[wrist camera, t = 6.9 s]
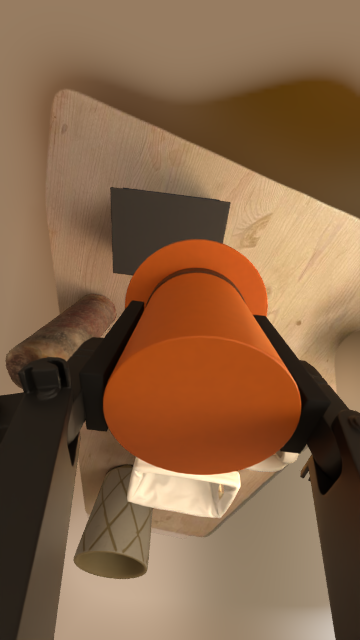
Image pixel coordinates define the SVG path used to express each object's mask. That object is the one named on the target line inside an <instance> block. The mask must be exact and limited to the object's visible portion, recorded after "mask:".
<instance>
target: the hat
mask: <svg viewBox="0 0 360 640" xmlns="http://www.w3.org/2000/svg"><path fill="white" fill-rule="evenodd" d="M132 300H134V301H142V302H144V312H143V314H142V316H141V318H140V320H139V322H138V324H137V326H136V328H135V329H134V331H133V333H132V335H131V337H130V339H129V341H128V343H127V345H126V347H125V349H124V351H123V353H122V355H121V357H120V359H119V361H118V363H117V364H116V366H115V368H114V370H113V372H112V374H111V376H110V378H109V380H108V383H107V385H106V388H105V391H104V396H103V412H104V417H105V420H106V423H107V426H108V428H109V429H110V431H111V433H112V434H113V436H114V437H115V438H116V440H117V441H118V442H119V443H120V444H121V445H122V446H123V447H124V448H125V449H126V450H128V451H129V452H130V453H131V454H133V455H134V456H136V457H137V458H139V459H141V460H143V461H145V462H147V463H149V464H151V465H153V466H156V467H159V468H162V469H165V470H168V471H173V472H177V473H184V474H193V475H214V474H223V473H230V472H234V471H238V470H242V469H245V468H248V467H251V466H253V465H256V464H258V463H260V462H262V461H264V460H266V459H267V458H269V457H270V456H272V455H273V454H275V453H276V452H277V451H279V450H280V449H281V448H282V447H283V446H284V445H285V444H286V443H287V442H288V440H289V439H290V438H291V436H292V435H293V433H294V432H295V430H296V428H297V425H298V423H299V419H300V415H301V398H300V392H299V390H298V387H297V384H296V382H295V380H294V379H293V377H292V375H291V374H290V372H289V371H288V369H287V367H286V366H285V364H284V363H283V361H282V360H281V358H280V357H279V355H278V353H277V352H276V350H275V349H274V347H273V346H272V344H271V343H270V341H269V339H268V338H267V336H266V335H265V333H264V332H263V330H262V329H261V327H260V326H259V324H258V322H257V321H256V319H255V318H254V316H253V315H262V316H267V308H268V302H267V293H266V288H265V285H264V283H263V280H262V278H261V276H260V274H259V272H258V271H257V269H256V268H255V267H254V266H253V264H252V263H251V262H250V261H249V260H248V259H247V258H246V257H245V256H243V255H242V254H241V253H239V252H238V251H236V250H235V249H233V248H231V247H229V246H227V245H225V244H222V243H219V242H216V241H211V240H205V239H190V240H183V241H179V242H175V243H172V244H169V245H167V246H165V247H163V248H161V249H159V250H157V251H156V252H155V253H153V254H152V255H151V256H149V257H148V258H147V259H146V260H145V261H144V262H143V263H142V264H141V265H140V266H139V268H138V269H137V270H136V272H135V273H134V275H133V277H132V279H131V281H130V283H129V286H128V289H127V293H126V299H125V309H126V308H127V306H128V305H129V304H130V302H131V301H132Z"/></svg>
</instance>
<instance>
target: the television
mask: <svg viewBox="0 0 360 640" xmlns="http://www.w3.org/2000/svg"><path fill="white" fill-rule="evenodd" d="M110 190H111V221H112V252H113V273H118V274H126V275H134V273H135V272H136V270H137V269H138V268H139V266H140V265H141V264H142V263H143V262H144V261H145V260H146V259H147V258H148V257H149V256H151V255H152V254H153V253H155V252H156V251H157V250H159V249H161V248H163V247H165V246H167V245H169V244H172V243H175V242H179V241H183V240H190V239H205V240H211V241H216V242H219V243H222V244H223V239H224V234H225V229H226V224H227V219H228V213H229V208H230V202H224V201H220V200H216V199H208V198H200V197H192V196H184V195H176V194H169V193H161V192H153V191H145V190H137V189H129V188H123V189H122V188H114V187H111V188H110Z"/></svg>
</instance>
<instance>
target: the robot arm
mask: <svg viewBox="0 0 360 640" xmlns="http://www.w3.org/2000/svg"><path fill="white" fill-rule="evenodd" d="M143 312H144V302H142V301H134V300H132V301H131V302H130V304H129V305H128V306H127V308H126V309H125V310H124V312H123V313H122V315H121V316H120V317H119V319H118V320H117V321H116V323H115V324H114V325H113V327H112V328H111V330H110V331H109V332H108V334H107V335H106V336H105V338H98V337H92V338H90V339H88V340H86V341H85V342H83V343H82V344H81V345H80V347H79V348H78V350H76V351H75V352H74V353H73V355H72V356H71V357H70V358H69V359H68V360H67V361H66V360H65V359H62V358H59V357H46V358H40V359H38V360H35V361H32V362H30V363H28V364H27V365H25V366H24V367H22V369H21V370H20V371H19V372H18V375H19V378H20V381H21V384H22V388H23V391H24V392H23V393H17V394H10V395H1V396H0V640H54V633H55V625H56V618H57V609H58V603H59V596H60V588H61V580H62V573H63V566H64V558H65V550H66V543H67V535H68V528H69V521H70V514H71V505H72V498H73V491H74V484H75V476H76V468H77V461H78V454H79V446H80V429H81V427H82V425H83V423H84V421H85V420H86V427H87V429H89V430H98V431H107V430H108V426H107V423H106V420H105V417H104V412H103V396H104V391H105V388H106V385H107V383H108V380H109V378H110V376H111V374H112V372H113V370H114V368H115V366H116V364H117V363H118V361H119V359H120V357H121V355H122V353H123V351H124V349H125V347H126V345H127V343H128V341H129V339H130V337H131V335H132V333H133V331H134V329H135V328H136V326H137V324H138V322H139V320H140V318H141V316H142V314H143ZM253 316H254V318H255V319H256V321H257V322H258V324H259V326H260V327H261V329H262V330H263V332H264V333H265V335H266V336H267V338H268V339H269V341H270V343H271V344H272V346H273V347H274V349H275V350H276V352H277V353H278V355H279V357H280V358H281V360H282V361H283V363H284V364H285V366H286V367H287V369H288V371H289V372H290V374H291V375H292V377H293V379H294V380H295V382H296V384H297V387H298V390H299V392H300V398H301V415H300V419H299V423H298V425H297V428H296V430H295V432H294V433H293V435H292V436H291V438H290V439H289V440H288V442H287V443H286V444H285V445H284V446H283V447H282V448H281V449H280V451H281V452H289V453H298V454H301V452H302V451H303V449H304V447H305V446H306V444H307V445H308V447H309V449H310V451H311V453H312V455H311V456H310V458H309V459H308V461H307V463H306V464H305V466H304V467H303V469H302V470H301V477H302V478H304V477H305V475H306V474H307V473H308V471H309V474H310V477H309V481H311V486H312V492H313V498H314V505H315V511H316V517H317V524H318V531H319V537H320V543H321V550H322V556H323V562H324V569H325V575H326V580H327V588H328V594H329V600H330V607H331V612H332V619H333V625H334V632H335V638H336V640H360V413H359V412H356V411H353V410H349V409H348V407H347V406H346V405H345V404H344V402H343V401H342V400H341V399H340V398H339V396H338V395H337V394H336V393H335V392H334V390H333V389H332V388H331V387H330V386H329V385H328V383H327V382H326V381H325V380H324V378H322V376H321V375H320V374H319V372H318V371H317V370H316V369H315V368H314V367H313V366H311V365H310V364H309V363H307V362H306V361H302V360H299V359H298V358H297V357H296V355H295V354H294V353H293V351H292V350H291V349H290V347H289V346H288V345H287V344H286V342H285V341H284V340H283V338H282V337H281V336H280V334H279V333H278V332H277V330H276V329H275V328H274V327H273V325H272V324H271V323H270V321H269V320H268V319H267V317H266V316H262V315H253Z"/></svg>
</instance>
